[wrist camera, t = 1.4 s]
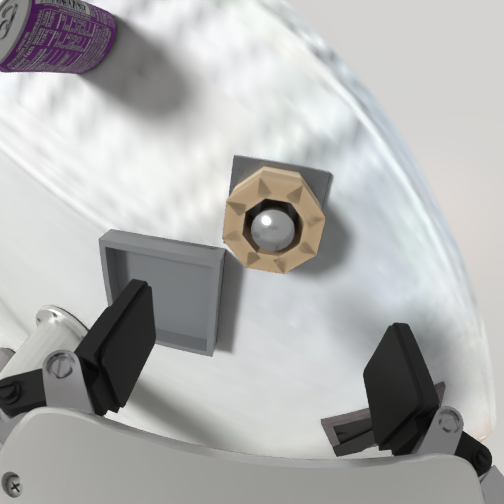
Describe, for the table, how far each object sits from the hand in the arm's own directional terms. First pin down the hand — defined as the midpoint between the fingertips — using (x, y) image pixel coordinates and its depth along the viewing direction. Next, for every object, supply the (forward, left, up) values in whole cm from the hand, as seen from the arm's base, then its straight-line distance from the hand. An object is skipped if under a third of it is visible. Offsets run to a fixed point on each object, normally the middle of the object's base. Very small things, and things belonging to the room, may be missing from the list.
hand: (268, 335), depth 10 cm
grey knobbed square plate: (0, 0, -16) cm, 16 cm away
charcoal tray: (-11, +10, -16) cm, 22 cm away
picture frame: (-34, -27, -17) cm, 47 cm away
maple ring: (0, 0, -15) cm, 15 cm away
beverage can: (+15, +20, -16) cm, 30 cm away
